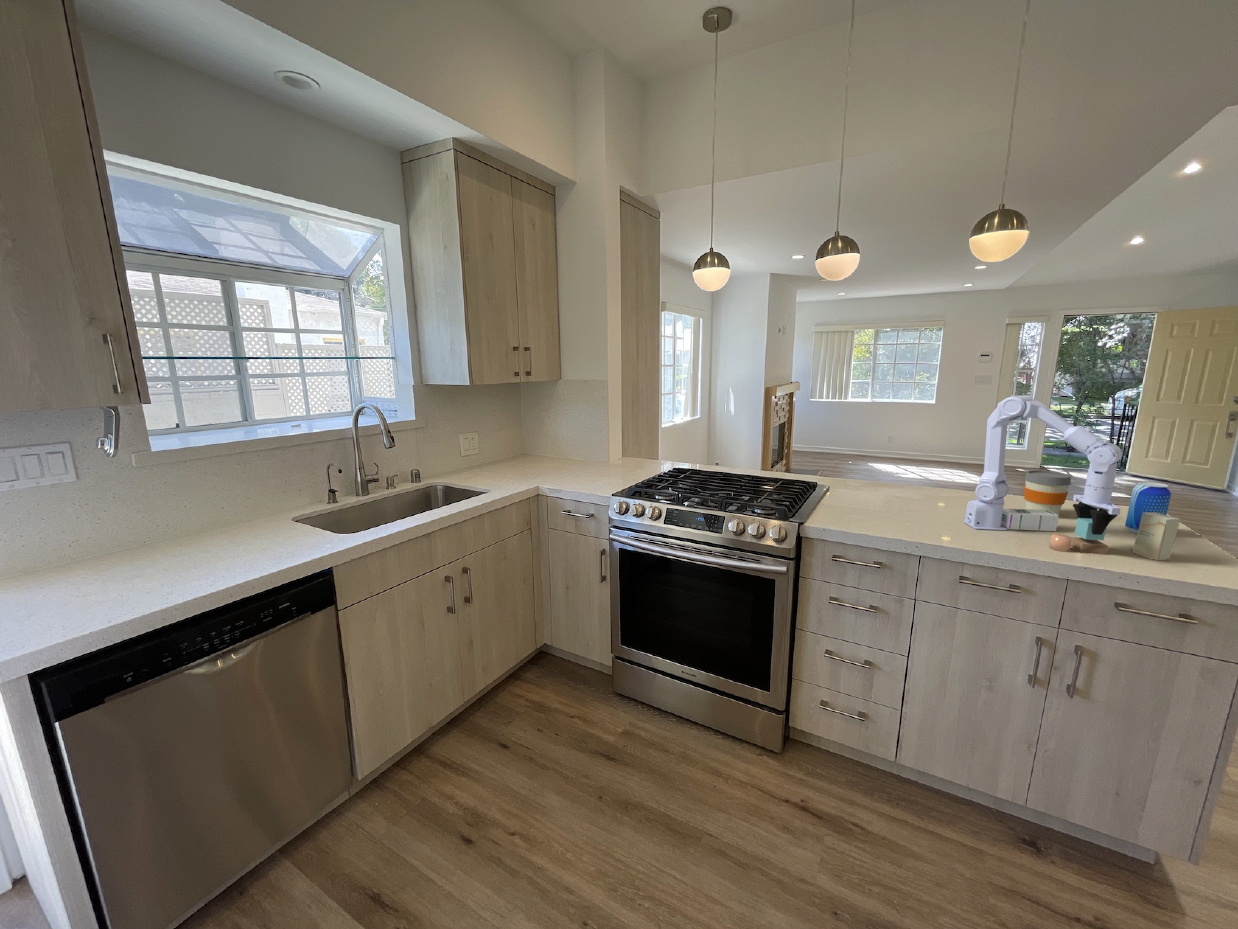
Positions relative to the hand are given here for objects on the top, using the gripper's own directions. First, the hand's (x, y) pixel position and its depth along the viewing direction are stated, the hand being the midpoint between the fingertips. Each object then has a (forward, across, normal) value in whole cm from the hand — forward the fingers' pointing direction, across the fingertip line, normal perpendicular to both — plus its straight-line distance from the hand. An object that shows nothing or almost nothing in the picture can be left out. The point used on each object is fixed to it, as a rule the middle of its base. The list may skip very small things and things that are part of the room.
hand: (1090, 531), depth 143 cm
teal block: (+2, 0, 0) cm, 2 cm away
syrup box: (+3, +19, -2) cm, 19 cm away
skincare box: (+6, -3, -14) cm, 15 cm away
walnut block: (+6, 0, 0) cm, 6 cm away
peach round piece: (+6, 0, +8) cm, 9 cm away
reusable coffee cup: (+6, +37, -10) cm, 39 cm away
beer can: (+6, +20, -29) cm, 36 cm away
